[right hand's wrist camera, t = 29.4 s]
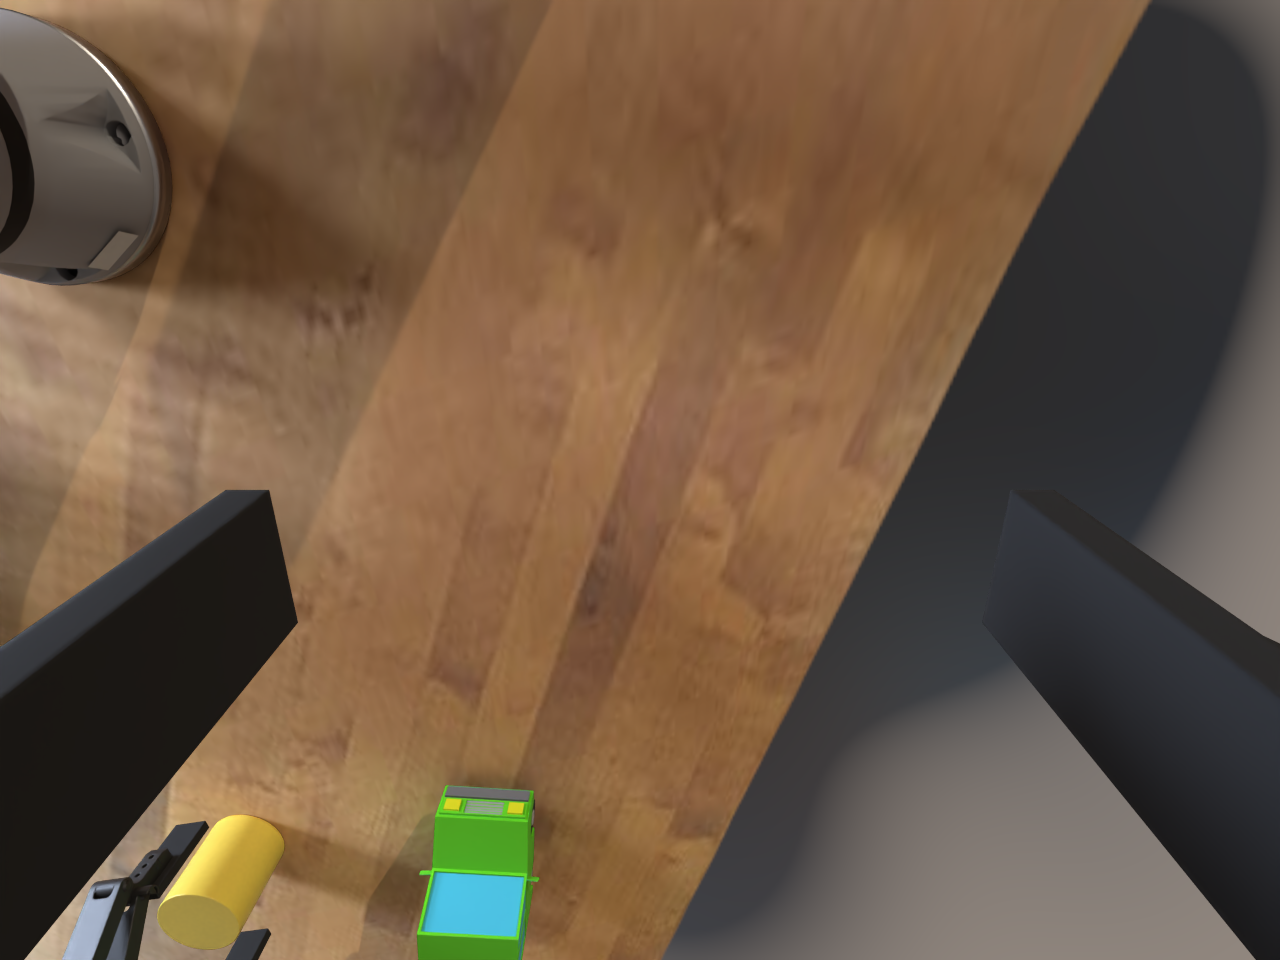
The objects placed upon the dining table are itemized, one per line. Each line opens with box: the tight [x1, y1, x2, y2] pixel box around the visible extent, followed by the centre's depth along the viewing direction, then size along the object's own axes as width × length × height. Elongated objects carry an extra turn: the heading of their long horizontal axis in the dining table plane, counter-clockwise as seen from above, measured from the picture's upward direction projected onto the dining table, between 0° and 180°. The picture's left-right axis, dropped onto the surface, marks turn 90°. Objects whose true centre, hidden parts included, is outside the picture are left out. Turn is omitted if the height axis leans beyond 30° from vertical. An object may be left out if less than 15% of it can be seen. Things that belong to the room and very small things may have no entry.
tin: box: [157, 815, 285, 950], centre depth 62 cm, size 7×7×8 cm
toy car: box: [417, 785, 540, 960], centre depth 60 cm, size 10×13×10 cm
